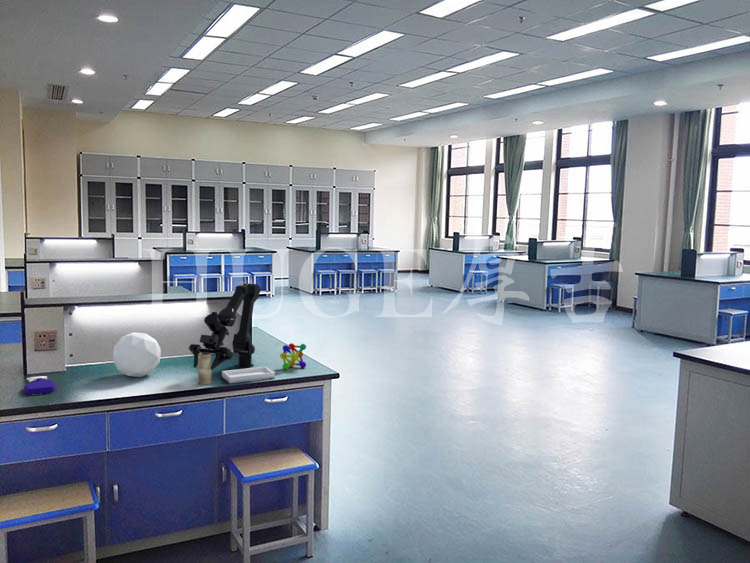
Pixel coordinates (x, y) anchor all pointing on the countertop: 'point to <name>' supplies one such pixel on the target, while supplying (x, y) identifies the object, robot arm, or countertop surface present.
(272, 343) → the countertop surface
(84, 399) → the countertop surface
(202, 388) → the countertop surface
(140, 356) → the geometric polyhedron
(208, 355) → the maple post
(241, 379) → the grey tray
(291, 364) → the molecular model
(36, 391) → the spray bottle
